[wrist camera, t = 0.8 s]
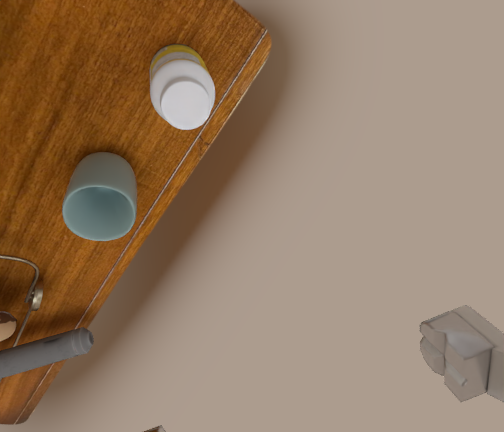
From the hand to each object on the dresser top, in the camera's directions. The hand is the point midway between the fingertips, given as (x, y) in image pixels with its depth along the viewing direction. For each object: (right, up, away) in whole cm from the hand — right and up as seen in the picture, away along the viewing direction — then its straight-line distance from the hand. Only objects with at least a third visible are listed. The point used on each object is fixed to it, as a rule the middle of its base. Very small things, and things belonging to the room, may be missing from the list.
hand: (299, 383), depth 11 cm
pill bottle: (-10, +22, +33) cm, 41 cm away
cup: (-20, +11, +38) cm, 45 cm away
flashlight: (-40, -18, +44) cm, 62 cm away
